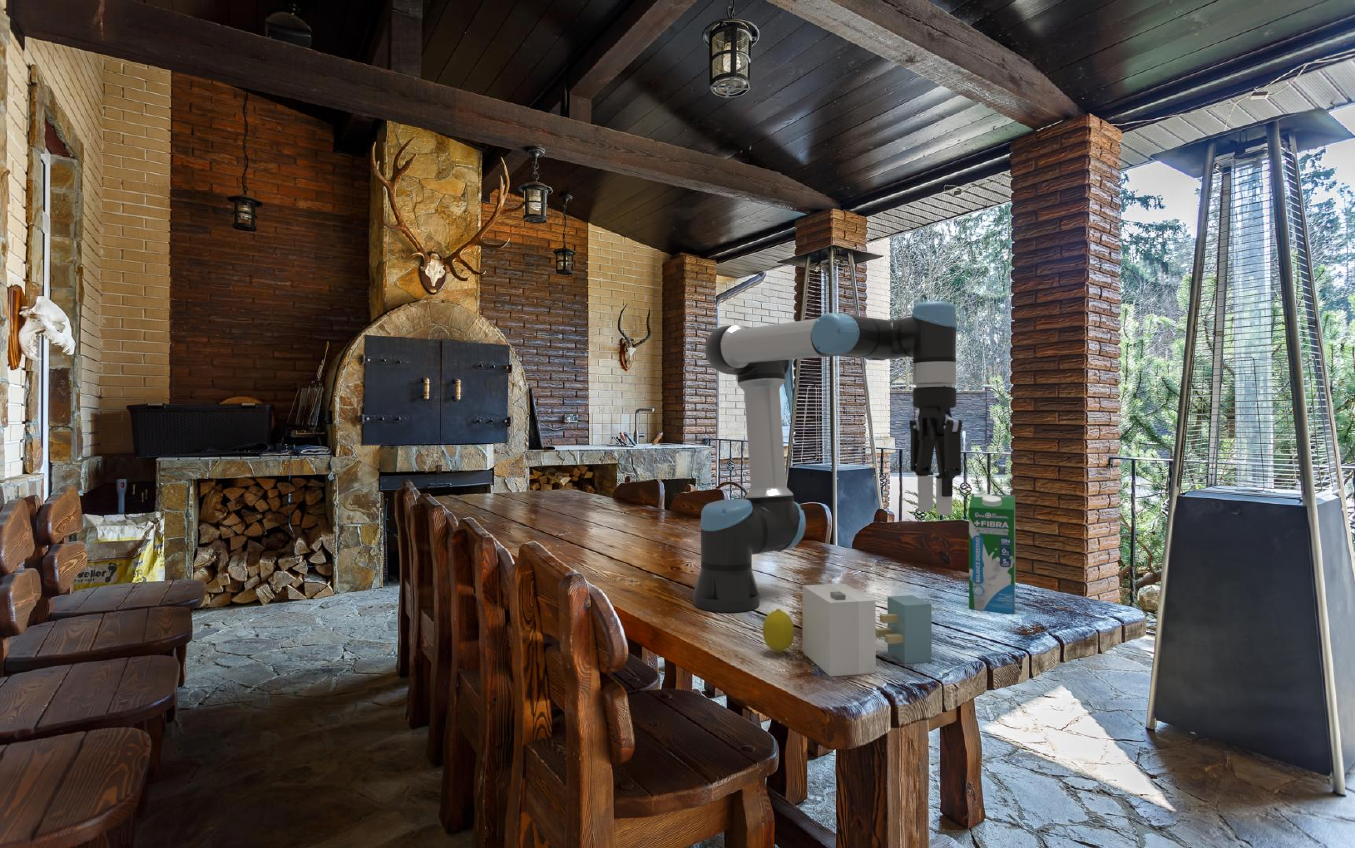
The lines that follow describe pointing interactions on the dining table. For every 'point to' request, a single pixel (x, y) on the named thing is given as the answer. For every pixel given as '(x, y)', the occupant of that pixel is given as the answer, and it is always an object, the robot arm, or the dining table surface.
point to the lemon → (778, 631)
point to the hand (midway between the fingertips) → (934, 512)
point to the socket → (839, 629)
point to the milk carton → (992, 553)
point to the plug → (908, 629)
